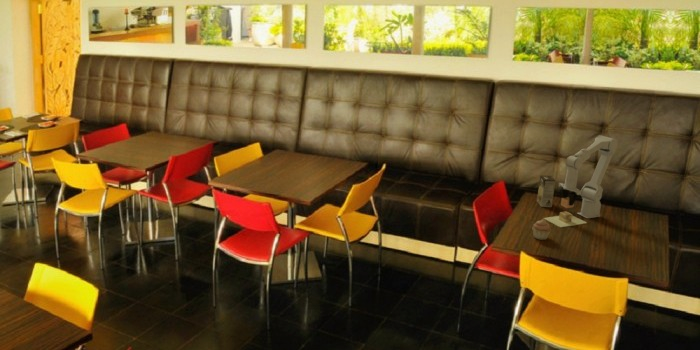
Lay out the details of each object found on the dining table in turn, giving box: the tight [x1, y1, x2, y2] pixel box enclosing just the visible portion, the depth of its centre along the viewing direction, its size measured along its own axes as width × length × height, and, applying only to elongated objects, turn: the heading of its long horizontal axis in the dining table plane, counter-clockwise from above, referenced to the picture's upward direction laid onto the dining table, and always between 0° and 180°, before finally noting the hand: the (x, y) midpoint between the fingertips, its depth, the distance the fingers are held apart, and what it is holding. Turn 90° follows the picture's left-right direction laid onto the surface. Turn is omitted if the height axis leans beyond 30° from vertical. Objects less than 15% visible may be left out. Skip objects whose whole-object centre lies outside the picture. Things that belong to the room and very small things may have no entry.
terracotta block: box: [560, 196, 575, 209], centre depth 314 cm, size 4×4×4 cm
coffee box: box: [536, 175, 556, 208], centre depth 339 cm, size 9×6×16 cm
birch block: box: [558, 211, 573, 222], centre depth 316 cm, size 4×4×4 cm
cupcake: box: [531, 218, 552, 241], centre depth 293 cm, size 9×9×10 cm
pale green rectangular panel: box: [542, 215, 588, 228], centre depth 317 cm, size 18×13×1 cm
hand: (567, 203), depth 314 cm, fingers closed on terracotta block, 4 cm apart
